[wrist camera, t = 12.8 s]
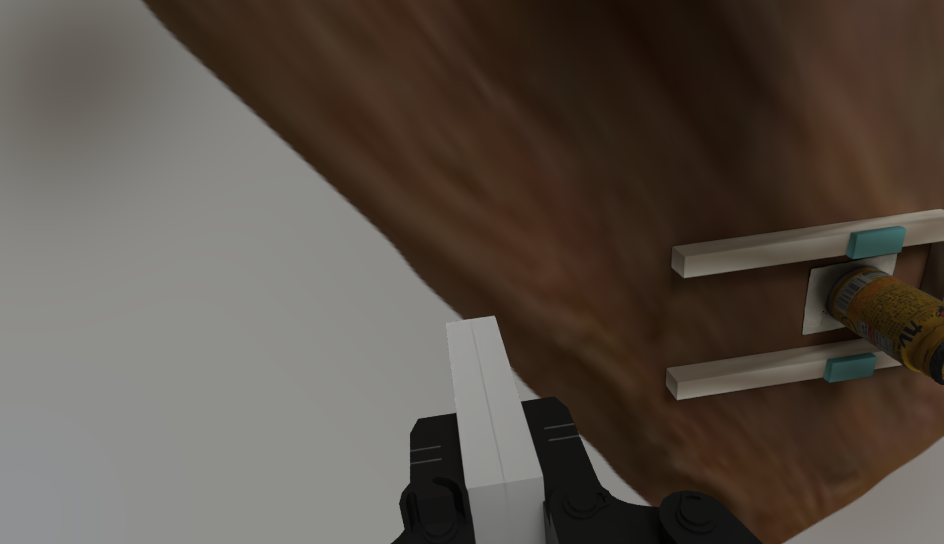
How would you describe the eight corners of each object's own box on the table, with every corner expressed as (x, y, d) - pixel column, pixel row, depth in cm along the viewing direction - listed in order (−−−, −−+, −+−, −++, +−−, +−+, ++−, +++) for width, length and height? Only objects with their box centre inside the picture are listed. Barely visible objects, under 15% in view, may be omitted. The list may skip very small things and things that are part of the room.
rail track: (672, 245, 49) (689, 259, 46) (957, 205, 50) (992, 216, 47) (665, 385, 55) (680, 405, 52) (919, 346, 57) (948, 364, 54)
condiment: (882, 319, 55) (1000, 390, 44) (801, 334, 54) (899, 409, 43) (895, 252, 52) (1025, 310, 41) (809, 267, 51) (917, 330, 40)
